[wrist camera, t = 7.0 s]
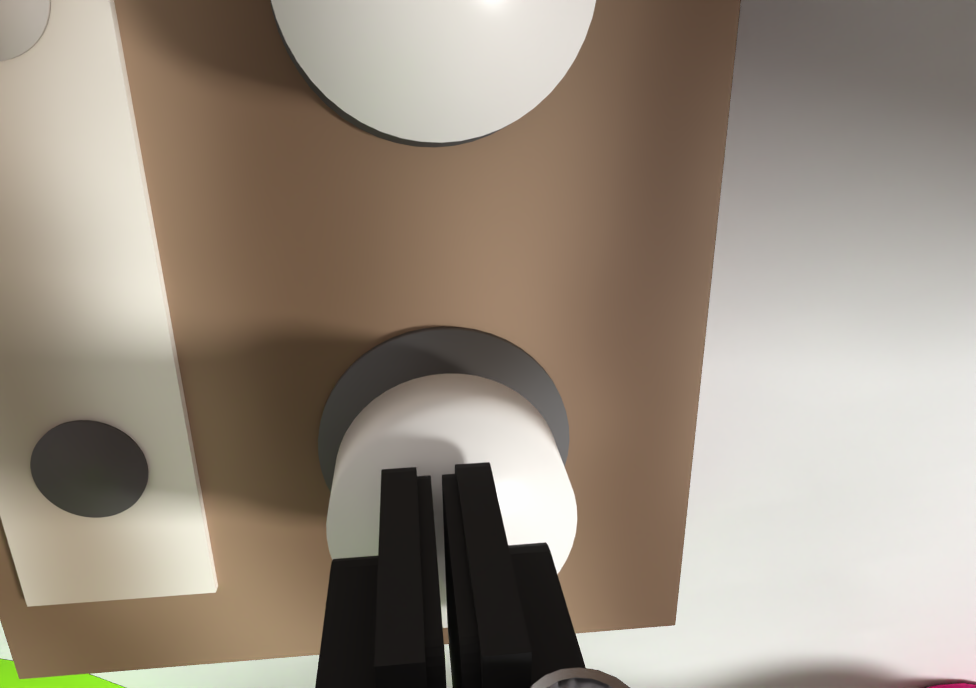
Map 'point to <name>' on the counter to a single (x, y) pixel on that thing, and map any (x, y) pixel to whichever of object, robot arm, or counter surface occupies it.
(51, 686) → the wineglass
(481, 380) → the glass side button
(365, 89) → the middle button
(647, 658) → the counter surface
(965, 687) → the pepper mill
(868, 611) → the counter surface
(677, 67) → the button board
